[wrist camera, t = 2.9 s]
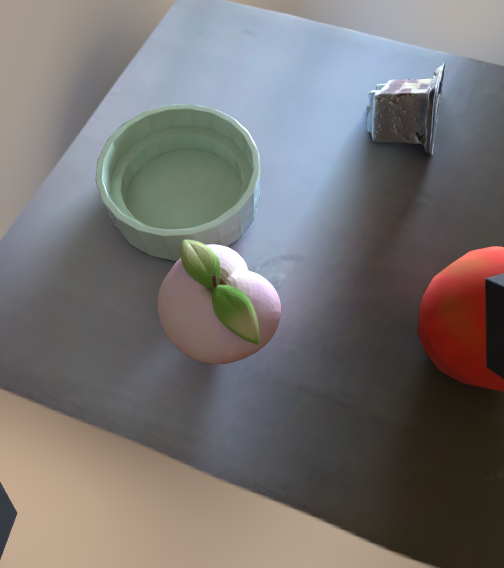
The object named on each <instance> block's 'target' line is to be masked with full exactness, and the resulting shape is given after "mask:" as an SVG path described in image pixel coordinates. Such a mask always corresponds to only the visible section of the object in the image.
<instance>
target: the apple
mask: <svg viewBox="0 0 504 568" xmlns="http://www.w3.org/2000/svg"><path fill="white" fill-rule="evenodd" d="M503 273H504V247H495V246H494V247H489V248H484V249H479V250H474V251H470V252H468V253H467V254H465V255H464V256H462V257H461V258H459V259H458V260H456V261H455V262H453V263H452V264H451V265H449V266H448V267H447V268H445V269H444V270H443V271H441V272H440V273H439V274H437V275H436V276H435V277H434V278H433V279H432V281H431V283H430V285H429V286H428V288H427V290H426V292H425V294H424V295H423V297H422V302H421V306H420V311H419V320H418V335H419V337H420V340H421V342H422V345H423V347H424V350H425V352H426V354H427V355H428V356H429V357H430V359H431V360H432V361H433V363H434V364H435V365H436V366H437V368H438V369H439V370H440V371H441V372H443V373H445V374H446V375H448V376H450V377H452V378H454V379H455V380H457V381H459V382H461V383H465V384H470V385H474V386H479V387H484V388H488V389H493V390H497V391H502V392H504V379H502V378H501V377H499V376H498V375H497V374H495V373H494V372H493V371H491V370H490V369H488V368H487V367H486V303H485V278H489V277H492V276H496V275H499V274H503Z"/></svg>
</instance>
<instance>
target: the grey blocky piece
mask: <svg viewBox="0 0 504 568" xmlns="http://www.w3.org/2000/svg"><path fill="white" fill-rule="evenodd" d="M444 66H445V63H444V64H443V65H442V66H441V67H439V68H438V69H437V70H436V71H435V72H434V74H435V76H433V79H424V80H416V79H415V80H411V79H408V80H403V79H394V80H390V81H389V82H388V83H386V84H378V85H377V86H376V90H375V91H370V92H369V93H368V97H369V104H368V106H367V121H366V124H367V125H368V126H367V130H368V131H369V132H371V133H372V137H373V141H374V142H391V143H412V144H422V145H423V146H424V147H425V149H424V150H425V151H426V152H428V153H430V154H431V155H432V157H433V149H434V142H435V132H436V127H437V119H438V111H439V110H438V109H439V106H440V100H441V95H442V82H443V75H444V68H445V67H444Z"/></svg>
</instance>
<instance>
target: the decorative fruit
mask: <svg viewBox="0 0 504 568" xmlns="http://www.w3.org/2000/svg"><path fill="white" fill-rule="evenodd" d="M180 253H181V258H180V259H179V260H178V261H177V262H176V263H175V264H174V266H173V267H172V268H171V270H170V271H169V273H168V274H167V276H166V277H165V279H164V281H163V282H162V284H161V287H160V290H159V294H158V313H159V317H160V321H161V324H162V326H163V329H164V331H165V333H166V335H167V336H168V338H169V339H170V340H171V342H172V343H173V344H174V345H175V346H176V347H177V348H178V349H179V350H180V351H181V352H182V353H184V354H185V355H187V356H188V357H190V358H192V359H194V360H197V361H200V362H204V363H209V364H226V363H231V362H235V361H238V360H241V359H243V358H246V357H248V356H250V355H252V354H254V353H255V352H257V351H258V350H260V349H261V348H263V347H264V346H265V345H266V344H267V343H268V342H269V341H270V340H271V338H272V337H273V335H274V333H275V331H276V329H277V327H278V324H279V320H280V315H281V305H280V300H279V297H278V294H277V292H276V290H275V289H274V287H273V286H272V285H271V284H270V283H269V282H268V281H267V280H266V279H265V278H263V277H262V276H260V275H258V274H256V273H253V272H249V271H248V269H247V266H246V263H245V261H244V260H243V259H242V257H241V256H240V255H239V254H238V253H236V252H235V251H234V250H232V249H230V248H228V247H225V246H221V245H215V244H210V245H204V244H203V243H200V242H198V241H194V240H183V243H182V245H181V252H180Z"/></svg>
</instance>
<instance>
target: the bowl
mask: <svg viewBox="0 0 504 568" xmlns="http://www.w3.org/2000/svg"><path fill="white" fill-rule="evenodd" d="M96 183H97V187H98V190H99V193H100V196H101V200H102V202H103V203H104V205H105V207H106V209H107V211H108V213H109V215H110V216H111V218H112V220H113V222H114V224H115V226H116V227H117V229H118V230H119V231H120V232H121V234H122V235H123V236H124V237H125V239H126V240H127V241H128V242H129V243H130V244H131V245H133V246H134V247H136V248H138V249H139V250H141V251H143V252H144V253H146V254H148V255H151V256H155V257H159V258H164V259H168V260H173V261H176V260H179V259H180V258H181V253H180V252H181V245H182V243H183V240H194V241H198V242H200V243H203V244H204V245H210V244H215V245H221V246H225V247H228V246H229V245H230V244H232V243H233V242H235V241H236V240H237V239H239V238H240V237H241V236H242V235H243V233H244V232H245V231H246V229H247V228H248V227H249V225H250V224H251V223H252V221H253V220H254V217H255V214H256V210H257V207H258V204H259V200H260V164H259V153H258V149H257V147H256V145H255V143H254V141H253V140H252V138H251V136H250V134H249V132H248V131H247V130H246V129H244V128H243V127H242V126H241V125H240V124H239V123H238V122H237V121H236V120H235V119H233V118H232V117H230V116H228V115H226V114H224V113H222V112H219V111H217V110H215V109H213V108H208V107H203V106H197V105H192V104H191V105H190V104H184V105H167V106H163V107H159V108H156V109H152V110H149V111H146V112H143V113H141V114H139V115H138V116H136V117H134V118H132V119H131V120H129V121H127V122H126V123H124V124H122V125H121V126H120V128H119V129H118V130H117V131H116V132H115V133H114V134H113V135H112V136H111V137H110V138H109V139H108V140H107V142H106V144H105V146H104V148H103V150H102V152H101V154H100V156H99V158H98V161H97V171H96Z"/></svg>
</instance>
